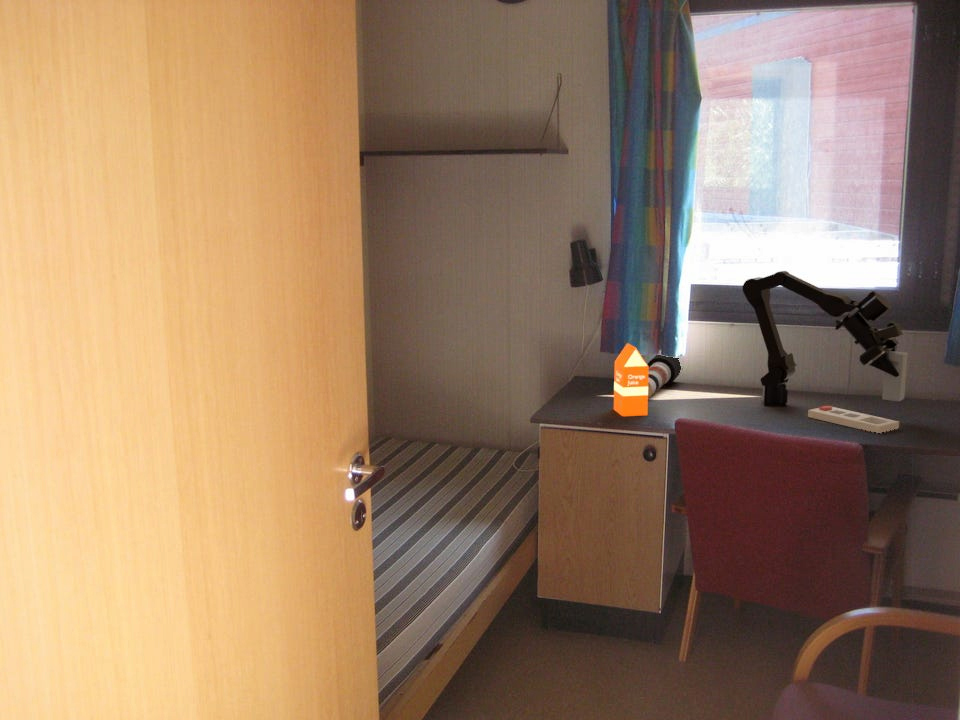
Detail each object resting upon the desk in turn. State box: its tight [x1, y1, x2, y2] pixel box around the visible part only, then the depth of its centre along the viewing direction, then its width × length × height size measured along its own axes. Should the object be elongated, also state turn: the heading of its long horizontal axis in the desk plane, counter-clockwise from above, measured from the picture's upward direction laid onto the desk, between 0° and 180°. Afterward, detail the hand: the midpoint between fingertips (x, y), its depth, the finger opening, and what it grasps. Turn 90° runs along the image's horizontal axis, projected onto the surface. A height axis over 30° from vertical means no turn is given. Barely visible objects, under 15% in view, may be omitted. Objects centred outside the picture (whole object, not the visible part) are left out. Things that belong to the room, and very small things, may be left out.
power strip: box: [807, 405, 900, 434], centre depth 257 cm, size 22×9×3 cm, turn 33°
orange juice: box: [613, 342, 649, 417], centre depth 270 cm, size 8×9×20 cm
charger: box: [881, 351, 909, 402], centre depth 257 cm, size 5×5×13 cm
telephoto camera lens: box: [646, 354, 681, 399], centre depth 299 cm, size 10×34×10 cm, turn 153°
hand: (900, 374), depth 256 cm, fingers closed on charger, 5 cm apart
